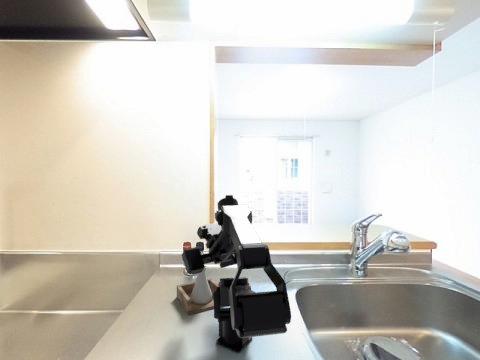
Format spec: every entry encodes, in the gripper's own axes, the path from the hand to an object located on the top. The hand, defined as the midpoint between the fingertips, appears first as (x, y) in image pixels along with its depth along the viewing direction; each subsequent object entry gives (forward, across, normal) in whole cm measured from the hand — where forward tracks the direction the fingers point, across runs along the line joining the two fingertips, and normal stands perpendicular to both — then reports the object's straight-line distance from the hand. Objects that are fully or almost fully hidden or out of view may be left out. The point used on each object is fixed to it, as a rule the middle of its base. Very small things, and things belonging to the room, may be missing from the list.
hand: (207, 269), depth 76 cm
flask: (+11, 0, +4) cm, 12 cm away
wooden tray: (+11, 0, +5) cm, 12 cm away
